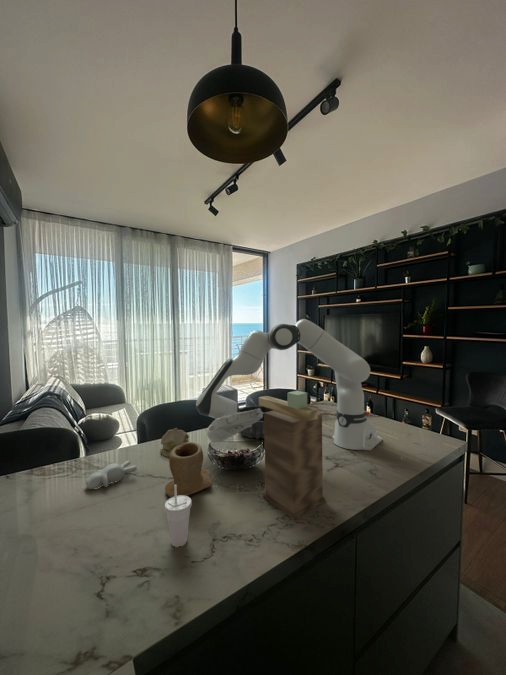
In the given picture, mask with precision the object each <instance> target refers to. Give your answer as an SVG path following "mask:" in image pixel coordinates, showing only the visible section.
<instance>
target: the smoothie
mask: <svg viewBox="0 0 506 675" xmlns="http://www.w3.org/2000/svg"><path fill="white" fill-rule="evenodd" d="M174 495H175V497H170V498H168V499H167V500H166V501H165V503H164V512H166V517H167V518H166V520H167V524H168V531H169V535H170V542H171V545H172V547H174V546H175V548H180V547H179V546H181V547H184V545H186V543H188V536H189V535H188V534H189V523H190V515H191V514H190V513H191V508H192V505H193V504H192V498H191V497H189V495H188V496H184V495H179V496H177V485H174Z"/></svg>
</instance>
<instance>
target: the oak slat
mask: <svg viewBox="0 0 506 675" xmlns="http://www.w3.org/2000/svg"><path fill="white" fill-rule="evenodd" d="M258 406H264V407H267V408H270V409H273V410H276V411H279V412H282V413H285V414H288V415H291V416H294V417H297V418H300V419H304V420H307V421H311V420H315V419H318V413H319V412H318V409H316V408H313V407H309V406H307V407H304V408H300V409H295V408H292V407H288V400H283V399H280V398H276V397H274V396H273V397H272V396H268V395H264V396H259V397H258Z"/></svg>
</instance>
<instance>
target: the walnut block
mask: <svg viewBox="0 0 506 675" xmlns="http://www.w3.org/2000/svg"><path fill="white" fill-rule="evenodd" d="M317 413H318V419H315V420H311V421H307V420H304V419H300V418H297V417H294V416H291V415H288V414H285V413H282V412H279V411H276V410H273V411H269V412H265V413H264V436H265V439H264V479H265V480H264V483H265V488H264V489H265V490H264V491H265V492H264V493H263V494H262V498H263V499H264V500H266V501H267V502H269V503H271V505H273V506H275V507H276V508H278V509H279V510H280V511H281V512H283V513H284V514H285V515H287V516H288V517H289V518H291V519H293V520H295V519H297V518H299V517H300V516H302V515H304V514H306V513H308V512H309V511H310V510H312V509H314V508H317V507H318V506H320V505H321V504H323V503H324V502H326V497H325V496H324V494H323V492H324V491H323V490H324V488H323V481H324V480H323V414H322V413H320V412H317Z"/></svg>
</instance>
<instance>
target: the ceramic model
mask: <svg viewBox="0 0 506 675" xmlns="http://www.w3.org/2000/svg"><path fill="white" fill-rule="evenodd" d="M189 437H190V435H189V434H188V433H187V432H185V431H184V429H183V430H182V429H178V427H174V428H173V429H168V430H167V431H166V433H165V434H163V436H162V437H161V440H160V445H162V448H161V449H160V451H159V453H161V454H162V455H161V454H160V455H161V456H163V455H164V457H170V453H171V451H172V450H173V449H174V448H175V447H177V446H179V445H181V444H183V443H188V442H190V440H189Z"/></svg>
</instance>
